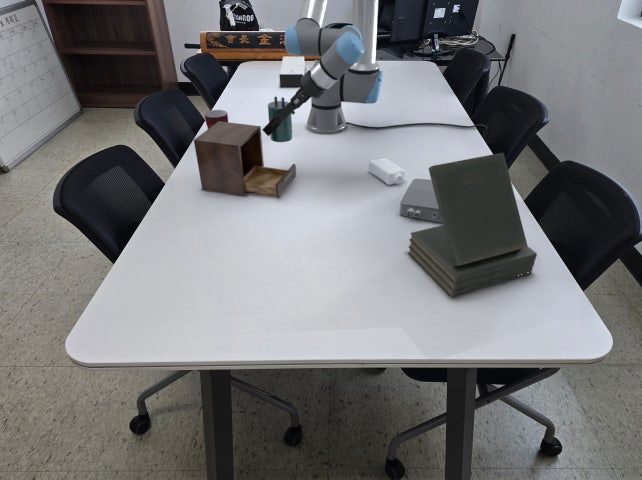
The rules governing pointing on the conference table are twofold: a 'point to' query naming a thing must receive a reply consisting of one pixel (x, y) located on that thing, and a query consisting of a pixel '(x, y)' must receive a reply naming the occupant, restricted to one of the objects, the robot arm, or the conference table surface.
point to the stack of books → (473, 228)
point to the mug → (215, 117)
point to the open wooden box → (228, 156)
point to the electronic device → (420, 201)
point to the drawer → (269, 180)
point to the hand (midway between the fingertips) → (270, 128)
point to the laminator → (292, 71)
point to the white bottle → (387, 171)
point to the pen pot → (285, 128)
